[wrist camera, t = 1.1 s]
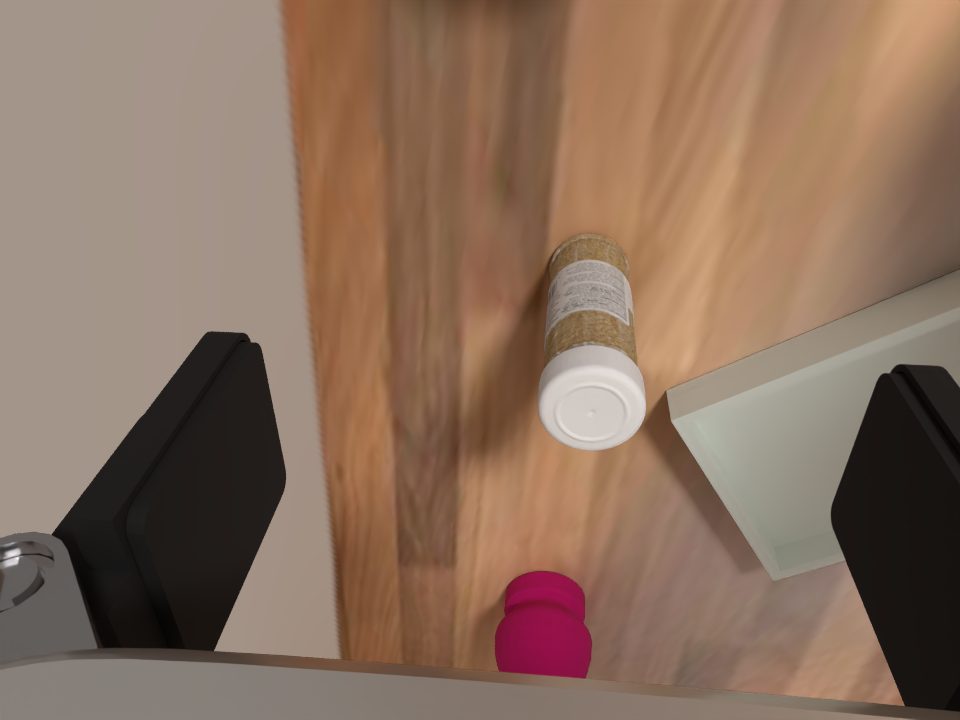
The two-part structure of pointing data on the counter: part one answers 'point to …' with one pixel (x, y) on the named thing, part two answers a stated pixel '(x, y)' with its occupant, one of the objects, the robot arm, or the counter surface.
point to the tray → (807, 418)
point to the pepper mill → (544, 628)
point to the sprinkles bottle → (590, 348)
